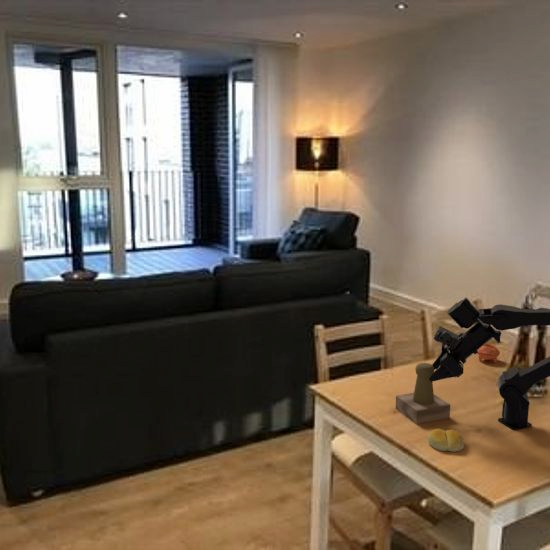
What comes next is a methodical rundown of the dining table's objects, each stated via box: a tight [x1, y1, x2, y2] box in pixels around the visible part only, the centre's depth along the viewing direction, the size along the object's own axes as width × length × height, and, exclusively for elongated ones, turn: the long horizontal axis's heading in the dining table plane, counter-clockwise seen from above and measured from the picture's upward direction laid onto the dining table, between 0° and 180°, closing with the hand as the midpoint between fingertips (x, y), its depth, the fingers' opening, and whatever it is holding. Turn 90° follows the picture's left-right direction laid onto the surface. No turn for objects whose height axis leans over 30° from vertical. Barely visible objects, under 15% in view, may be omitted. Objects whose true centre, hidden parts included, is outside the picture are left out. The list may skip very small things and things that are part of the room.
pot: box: [476, 343, 501, 364], centre depth 214 cm, size 8×8×7 cm
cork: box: [413, 362, 435, 405], centre depth 170 cm, size 6×6×11 cm
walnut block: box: [395, 392, 451, 425], centre depth 172 cm, size 11×11×4 cm
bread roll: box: [427, 428, 465, 453], centre depth 153 cm, size 8×9×4 cm
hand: (430, 374), depth 169 cm, fingers open, 9 cm apart
